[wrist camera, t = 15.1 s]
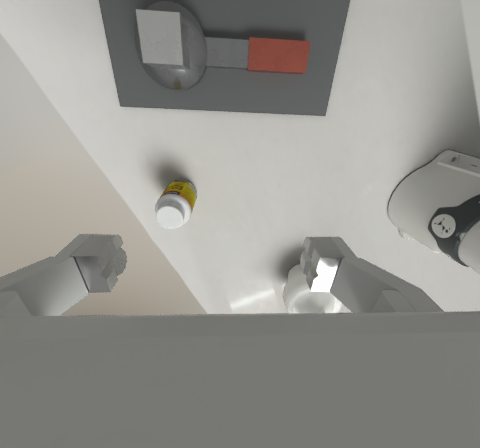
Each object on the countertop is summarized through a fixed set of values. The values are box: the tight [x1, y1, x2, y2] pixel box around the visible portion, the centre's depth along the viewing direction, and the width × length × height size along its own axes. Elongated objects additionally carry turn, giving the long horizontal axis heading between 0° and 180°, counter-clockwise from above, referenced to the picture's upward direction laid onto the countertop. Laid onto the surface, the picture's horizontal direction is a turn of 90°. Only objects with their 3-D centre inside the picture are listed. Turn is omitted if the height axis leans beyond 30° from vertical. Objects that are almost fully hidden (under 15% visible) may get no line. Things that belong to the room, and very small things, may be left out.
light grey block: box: [136, 9, 190, 70], centre depth 26 cm, size 4×4×6 cm
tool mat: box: [99, 0, 350, 116], centre depth 29 cm, size 32×22×1 cm
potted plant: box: [283, 264, 342, 313], centre depth 42 cm, size 13×12×25 cm
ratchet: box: [135, 1, 311, 90], centre depth 29 cm, size 22×9×5 cm, turn 87°
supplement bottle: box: [155, 179, 197, 229], centre depth 37 cm, size 6×6×10 cm
